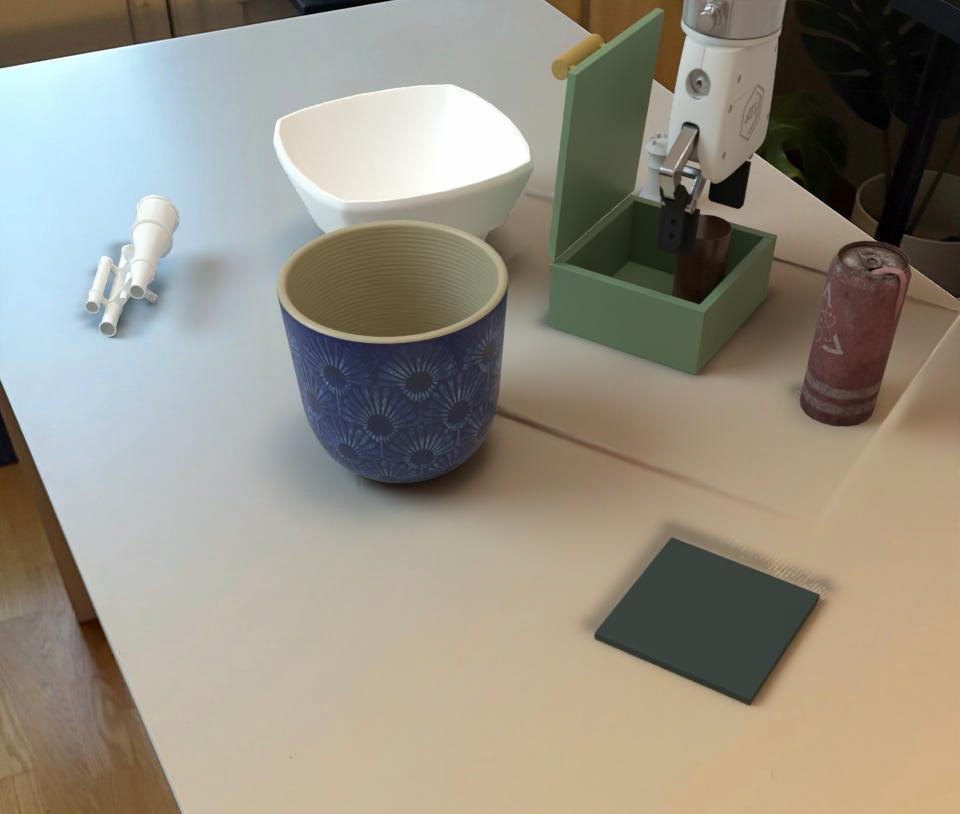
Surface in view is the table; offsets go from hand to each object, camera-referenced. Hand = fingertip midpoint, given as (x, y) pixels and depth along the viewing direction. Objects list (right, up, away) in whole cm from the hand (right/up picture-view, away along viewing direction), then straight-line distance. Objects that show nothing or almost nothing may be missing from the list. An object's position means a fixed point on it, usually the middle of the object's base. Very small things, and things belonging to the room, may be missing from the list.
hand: (700, 227), depth 104 cm
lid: (-8, +7, -1) cm, 11 cm away
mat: (-2, -35, -16) cm, 39 cm away
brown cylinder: (+1, -6, +7) cm, 9 cm away
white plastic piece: (-51, -2, +13) cm, 53 cm away
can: (+11, -16, -1) cm, 20 cm away
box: (-2, -5, +9) cm, 10 cm away
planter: (-25, -20, -3) cm, 32 cm away
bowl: (-26, +4, +16) cm, 31 cm away
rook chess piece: (-1, +10, +21) cm, 23 cm away
